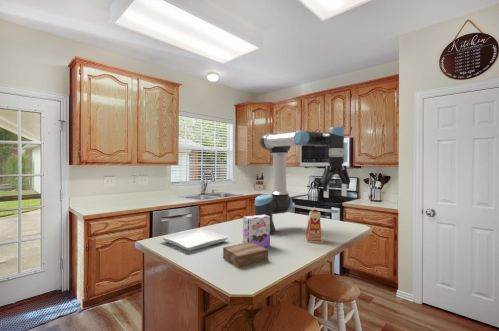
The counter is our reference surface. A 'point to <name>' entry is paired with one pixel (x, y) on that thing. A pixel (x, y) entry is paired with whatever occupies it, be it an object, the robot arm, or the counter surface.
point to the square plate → (194, 239)
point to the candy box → (257, 230)
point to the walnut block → (245, 254)
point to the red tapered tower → (314, 227)
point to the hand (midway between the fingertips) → (335, 196)
